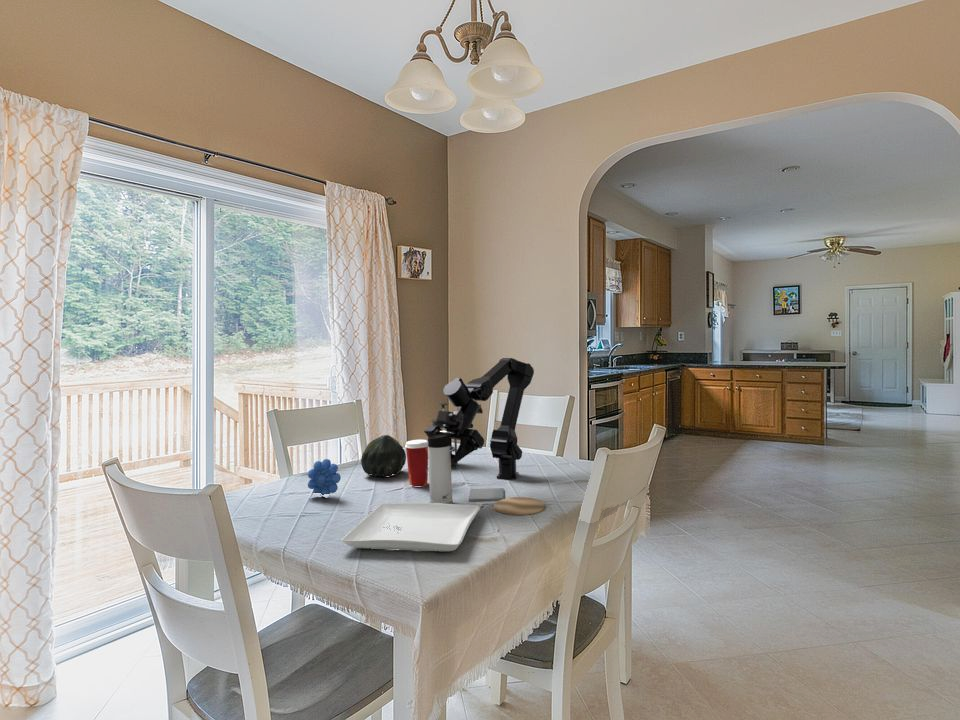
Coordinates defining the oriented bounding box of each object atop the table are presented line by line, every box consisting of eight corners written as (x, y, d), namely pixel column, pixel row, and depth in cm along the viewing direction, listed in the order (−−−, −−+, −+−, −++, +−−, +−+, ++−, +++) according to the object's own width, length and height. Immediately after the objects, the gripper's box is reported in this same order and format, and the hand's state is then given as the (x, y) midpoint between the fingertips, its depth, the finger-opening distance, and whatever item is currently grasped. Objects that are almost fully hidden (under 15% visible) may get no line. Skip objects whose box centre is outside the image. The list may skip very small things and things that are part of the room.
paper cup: (435, 484, 170) (433, 440, 170) (417, 489, 165) (415, 445, 164) (419, 480, 176) (417, 438, 175) (401, 485, 170) (399, 442, 170)
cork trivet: (498, 497, 154) (498, 496, 154) (547, 499, 151) (547, 497, 151) (489, 514, 140) (489, 512, 140) (542, 516, 137) (542, 514, 137)
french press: (439, 461, 200) (437, 401, 199) (462, 462, 197) (460, 401, 196) (426, 469, 189) (423, 405, 188) (450, 471, 186) (448, 405, 185)
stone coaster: (470, 490, 162) (470, 488, 162) (503, 489, 161) (503, 488, 161) (468, 501, 152) (468, 499, 152) (503, 500, 151) (503, 498, 151)
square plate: (460, 561, 113) (459, 543, 113) (339, 556, 118) (338, 539, 117) (482, 517, 140) (481, 502, 139) (382, 514, 144) (382, 500, 144)
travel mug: (450, 508, 146) (447, 435, 145) (427, 507, 148) (424, 435, 147) (456, 500, 152) (453, 431, 151) (433, 500, 154) (430, 431, 153)
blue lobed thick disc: (349, 495, 162) (347, 456, 161) (336, 502, 156) (334, 461, 155) (318, 492, 166) (316, 454, 165) (303, 499, 160) (301, 459, 159)
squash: (367, 453, 194) (361, 428, 183) (408, 453, 194) (405, 427, 184) (362, 487, 184) (356, 462, 173) (405, 487, 184) (402, 462, 174)
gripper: (427, 398, 159) (402, 441, 151) (476, 401, 148) (452, 448, 139) (445, 420, 165) (422, 463, 157) (494, 425, 154) (472, 471, 146)
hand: (441, 460), depth 150 cm, fingers open, 9 cm apart
